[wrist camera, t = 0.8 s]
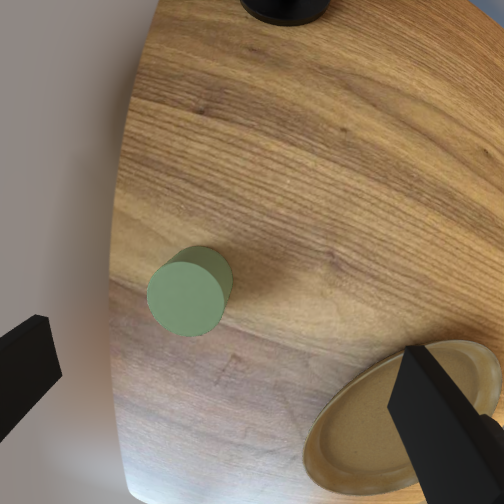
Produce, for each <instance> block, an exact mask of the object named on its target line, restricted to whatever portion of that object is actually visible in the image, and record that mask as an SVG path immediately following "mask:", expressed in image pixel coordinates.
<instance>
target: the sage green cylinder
mask: <svg viewBox="0 0 504 504" xmlns="http://www.w3.org/2000/svg"><path fill="white" fill-rule="evenodd" d="M232 285H233V276H232V272H231V269H230V266H229V264H228V263H227V261H226V260H225V259H224V258H223V257H222V256H221V255H220V254H219V253H218V252H216V251H214V250H212V249H210V248H207V247H202V246H194V247H189V248H186V249H184V250H182V251H180V252H179V253H178V254H176V255H175V256H174V257H173V258H172V259H170V260H169V261H168V262H167V263H165V264H164V265H163V266H162V267H161V268H159V269H158V270H157V271H156V272H155V273H154V275H153V276H152V278H151V280H150V282H149V285H148V289H147V300H148V305H149V308H150V310H151V313H152V314H153V316H154V318H155V319H156V320H157V321H158V322H159V324H161V325H162V326H163V327H164V328H165V329H167V330H169V331H170V332H172V333H175V334H177V335H181V336H189V337H192V336H199V335H202V334H205V333H207V332H209V331H211V330H212V329H213V328H214V327H215V326H216V325H217V324H218V323H219V321H220V320H221V318H222V315H223V313H224V310H225V307H226V304H227V301H228V298H229V295H230V292H231V290H232Z"/></svg>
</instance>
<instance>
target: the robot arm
mask: <svg viewBox="0 0 504 504" xmlns="http://www.w3.org/2000/svg"><path fill="white" fill-rule="evenodd" d="M61 377H62V372H61V369H60V365H59V361H58V358H57V354H56V350H55V346H54V342H53V337H52V333H51V328H50V324H49V319H48V317H44V316H40V315H36V314H35V315H34V316H32V317H30V318H29V319H27V320H26V321H24V322H23V323H21V324H20V325H18V326H17V327H15V328H14V329H12V330H11V331H9V332H8V333H6V334H5V335H3V336H2V337H0V443H1V442H2V440H3V439H4V438H5V437H6V436H7V435H8V434H9V433H10V431H11V430H12V429H13V428H14V427H15V426H16V425H17V424H18V423H19V421H20V420H21V419H22V418H23V417H24V416H25V415H26V414H27V413H28V412H29V411H30V409H31V408H32V407H33V406H34V405H35V404H36V403H37V402H38V401H39V400H40V399H41V398H42V397H43V396H44V394H45V393H46V392H47V391H48V390H49V389H50V388H51V387H52V386H53V385H54V384H55V383H56V382H57V381H58V380H59V379H60V378H61ZM387 409H388V411H389V413H390V415H391V417H392V420H393V422H394V424H395V426H396V429H397V431H398V433H399V436H400V438H401V440H402V442H403V445H404V447H405V449H406V452H407V454H408V457H409V459H410V461H411V464H412V466H413V468H414V471H415V473H416V476H417V478H418V481H419V483H420V486H421V488H422V491H423V493H424V496H425V498H426V501H427V503H428V504H504V430H503V429H502V427H501V426H500V425H499V423H498V422H497V421H495V420H494V419H492V418H491V417H490V416H488V415H487V414H481V415H479V413H478V412H477V411H476V409H475V408H474V407H473V405H472V404H471V403H470V402H469V400H468V399H467V398H466V396H465V395H464V394H463V392H462V391H461V390H460V389H459V387H458V386H457V385H456V384H455V382H454V381H453V380H452V379H451V377H450V376H449V375H448V374H447V372H446V371H445V370H444V369H443V367H442V366H441V365H440V364H439V362H438V361H437V360H436V359H435V358H434V356H433V355H432V354H431V353H430V352H429V350H428V349H427V348H426V347H425V346H424V345H415V346H405V350H404V354H403V357H402V361H401V364H400V368H399V371H398V374H397V378H396V381H395V384H394V387H393V390H392V393H391V396H390V399H389V402H388V405H387Z"/></svg>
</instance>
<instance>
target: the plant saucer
mask: <svg viewBox="0 0 504 504" xmlns="http://www.w3.org/2000/svg"><path fill="white" fill-rule="evenodd" d="M420 345H424V346H425V347H426V348H427V349H428V350H429V352H430V353H431V354H432V355H433V356H434V358H435V359H436V360H437V361H438V362H439V364H440V365H441V366H442V367H443V369H444V370H445V371H446V372H447V374H448V375H449V376H450V377H451V379H452V380H453V381H454V382H455V384H456V385H457V386H458V387H459V389H460V390H461V391H462V392H463V394H464V395H465V396H466V398H467V399H468V400H469V402H470V403H471V404H472V405H473V407H474V408H475V409H476V411H477V412H478V413H479V415H481V414H487V415H488V416H490V417H492V415H493V413H494V411H495V408H496V406H497V403H498V400H499V397H500V393H501V387H502V372H501V367H500V364H499V362H498V359H497V358H496V356H495V355H494V354H493V353H492V352H491V350H489V349H488V348H487V347H485V346H483V345H481V344H479V343H476V342H472V341H467V340H459V339H448V340H438V341H432V342H428V343H423V344H420ZM403 354H404V350H403V351H400V352H398V353H396V354H394V355H391V356H389V357H387V358H386V359H384V360H382V361H380V362H378V363H377V364H375V365H373V366H372V367H370V368H369V369H367V370H366V371H364V372H363V373H361V374H360V375H358V376H357V377H356V378H355V379H353V380H352V381H351V382H349V383H348V384H347V385H346V386H345V387H344V388H342V389H341V390H340V391H339V392H338V393H337V394H336V395H335V396H334V397H333V398H332V399H331V400H330V402H329V403H328V404H327V405H326V406H325V407H324V409H323V410H322V411H321V412H320V414H319V415H318V417H317V418H316V420H315V421H314V423H313V425H312V427H311V429H310V431H309V433H308V435H307V437H306V440H305V443H304V447H303V453H302V459H303V465H304V468H305V471H306V473H307V474H308V476H309V477H310V479H311V480H312V481H313V482H314V483H316V484H317V485H318V486H320V487H322V488H323V489H326V490H328V491H330V492H333V493H337V494H341V495H348V496H372V495H379V494H385V493H389V492H393V491H397V490H400V489H403V488H406V487H409V486H411V485H414V484H416V483H418V482H419V481H418V478H417V476H416V473H415V471H414V468H413V466H412V464H411V461H410V459H409V457H408V454H407V452H406V449H405V447H404V445H403V442H402V440H401V438H400V436H399V433H398V431H397V429H396V426H395V424H394V422H393V420H392V417H391V415H390V413H389V411H388V409H387V405H388V402H389V399H390V396H391V393H392V390H393V387H394V384H395V381H396V378H397V374H398V371H399V368H400V364H401V361H402V357H403Z"/></svg>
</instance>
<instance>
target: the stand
mask: <svg viewBox="0 0 504 504" xmlns="http://www.w3.org/2000/svg"><path fill="white" fill-rule="evenodd" d="M240 2H241V4H242V6H243V7H244V9H245V10H246V11H247V12H248V13H249V14H250V15H252V16H253V17H255V18H256V19H258V20H260V21H263V22H265V23H268V24H272V25H277V26H299V25H304V24H307V23H310V22H312V21H314V20H316V19H318V18H319V17H320V16H322V15H323V14H324V12H325V11H326V10H327V8H328V6H329V3H330V0H240Z"/></svg>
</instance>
